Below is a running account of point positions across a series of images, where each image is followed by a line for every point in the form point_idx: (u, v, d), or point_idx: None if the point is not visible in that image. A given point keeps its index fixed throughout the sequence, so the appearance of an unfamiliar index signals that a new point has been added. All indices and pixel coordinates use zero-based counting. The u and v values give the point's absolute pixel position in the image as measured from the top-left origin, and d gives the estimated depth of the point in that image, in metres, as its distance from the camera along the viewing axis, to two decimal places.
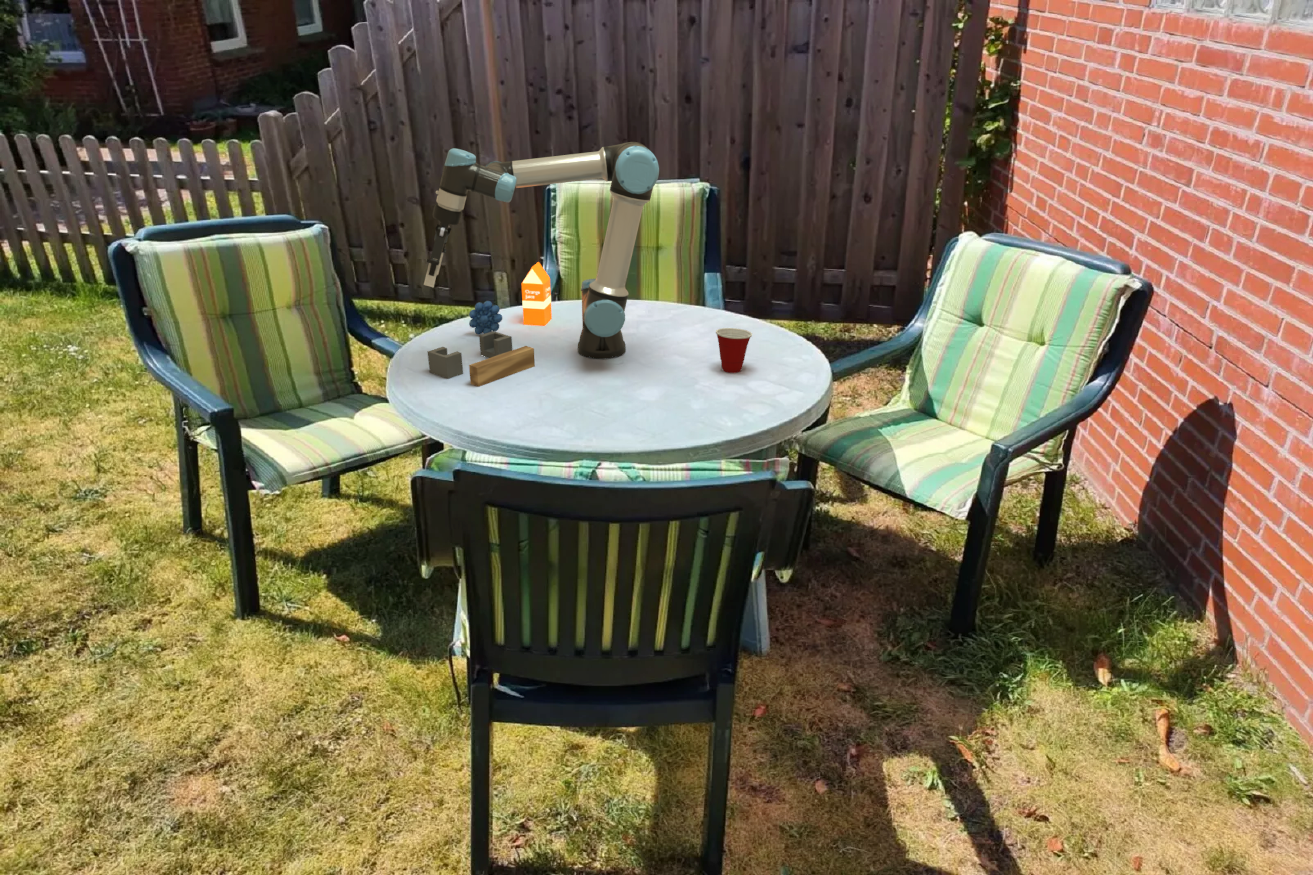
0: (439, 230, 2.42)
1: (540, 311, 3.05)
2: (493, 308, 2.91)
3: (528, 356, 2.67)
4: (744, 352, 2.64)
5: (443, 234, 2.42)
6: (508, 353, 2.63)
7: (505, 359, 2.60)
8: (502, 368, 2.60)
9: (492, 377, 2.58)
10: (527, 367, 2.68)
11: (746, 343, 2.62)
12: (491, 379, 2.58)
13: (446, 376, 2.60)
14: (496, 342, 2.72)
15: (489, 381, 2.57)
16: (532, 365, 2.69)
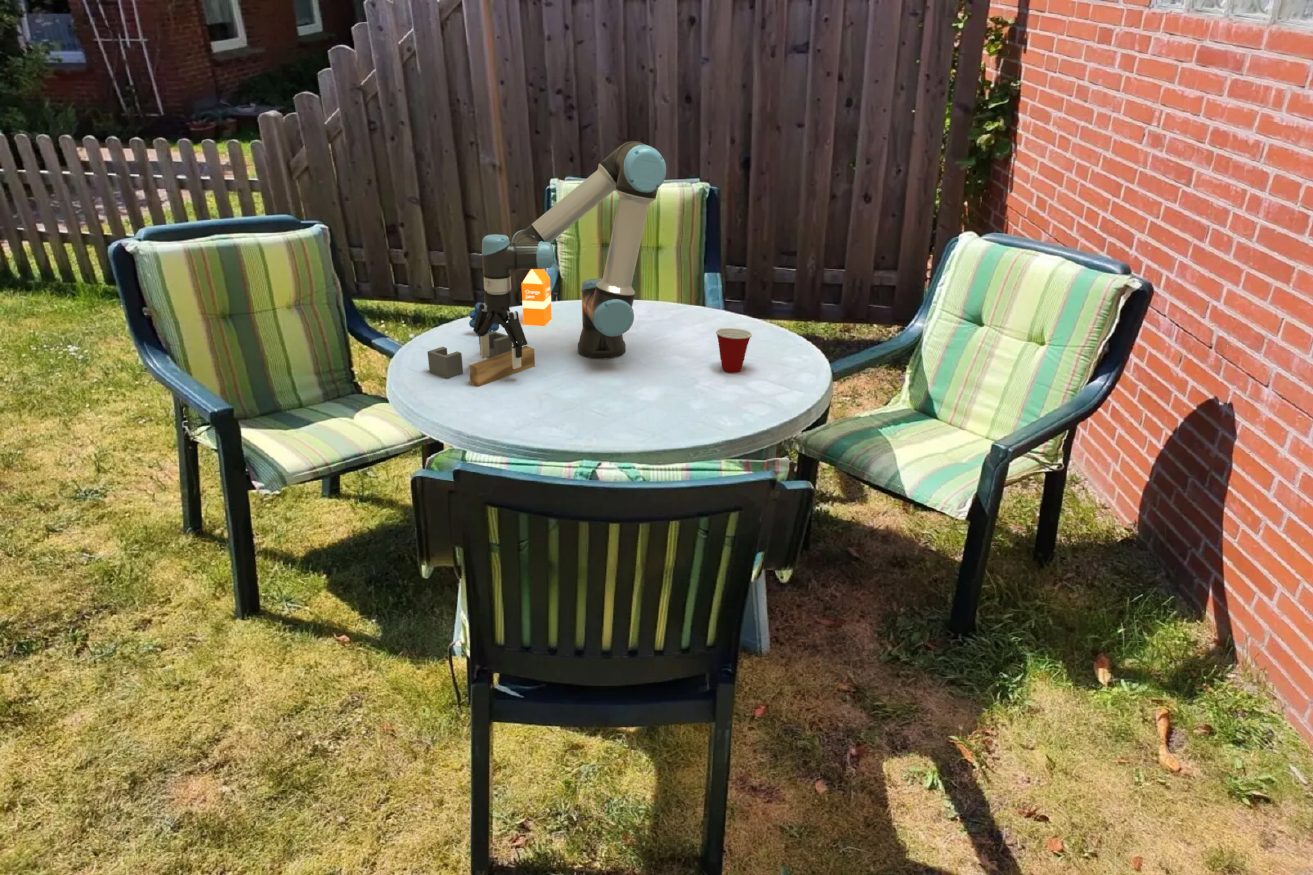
0: (513, 315, 2.51)
1: (540, 311, 3.05)
2: None
3: (528, 356, 2.67)
4: (744, 352, 2.64)
5: (516, 316, 2.52)
6: (508, 353, 2.63)
7: (505, 359, 2.60)
8: (502, 368, 2.60)
9: (492, 377, 2.58)
10: (527, 367, 2.68)
11: (746, 343, 2.62)
12: (491, 379, 2.58)
13: (446, 376, 2.60)
14: (496, 342, 2.72)
15: (489, 381, 2.57)
16: (532, 365, 2.69)
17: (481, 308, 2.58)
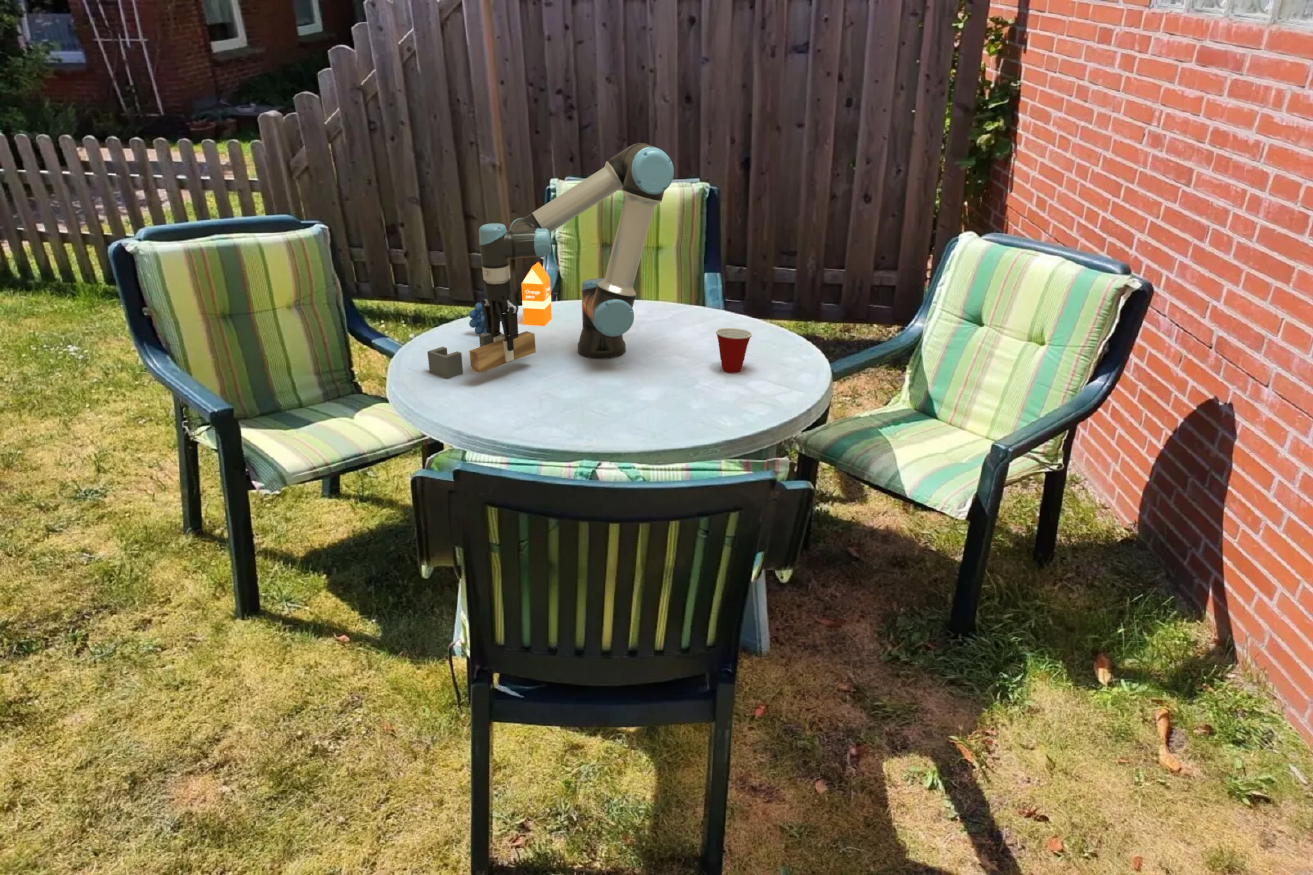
0: (513, 310, 2.51)
1: (540, 311, 3.05)
2: None
3: (529, 341, 2.65)
4: (744, 352, 2.64)
5: (515, 311, 2.52)
6: None
7: None
8: (503, 353, 2.58)
9: (493, 363, 2.56)
10: (528, 352, 2.66)
11: (746, 343, 2.62)
12: (492, 365, 2.56)
13: (446, 376, 2.60)
14: None
15: (490, 367, 2.56)
16: (533, 350, 2.67)
17: (483, 303, 2.57)
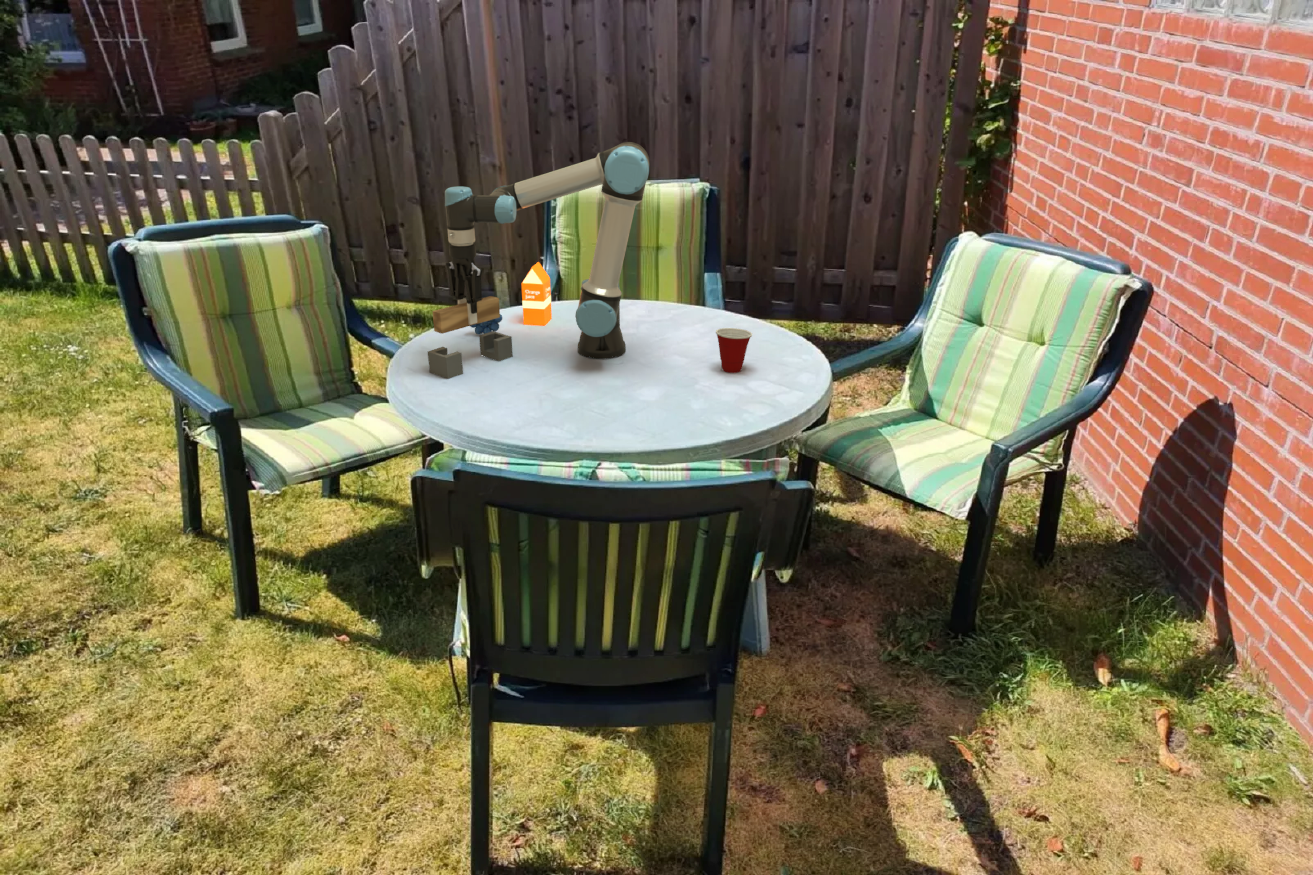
0: (476, 272, 2.55)
1: (540, 311, 3.05)
2: None
3: (493, 305, 2.70)
4: (744, 352, 2.64)
5: (479, 274, 2.56)
6: None
7: None
8: (466, 315, 2.62)
9: (456, 324, 2.60)
10: (492, 317, 2.70)
11: (746, 343, 2.62)
12: (455, 326, 2.60)
13: (446, 376, 2.60)
14: (496, 342, 2.72)
15: (453, 328, 2.60)
16: (497, 315, 2.72)
17: (448, 266, 2.61)
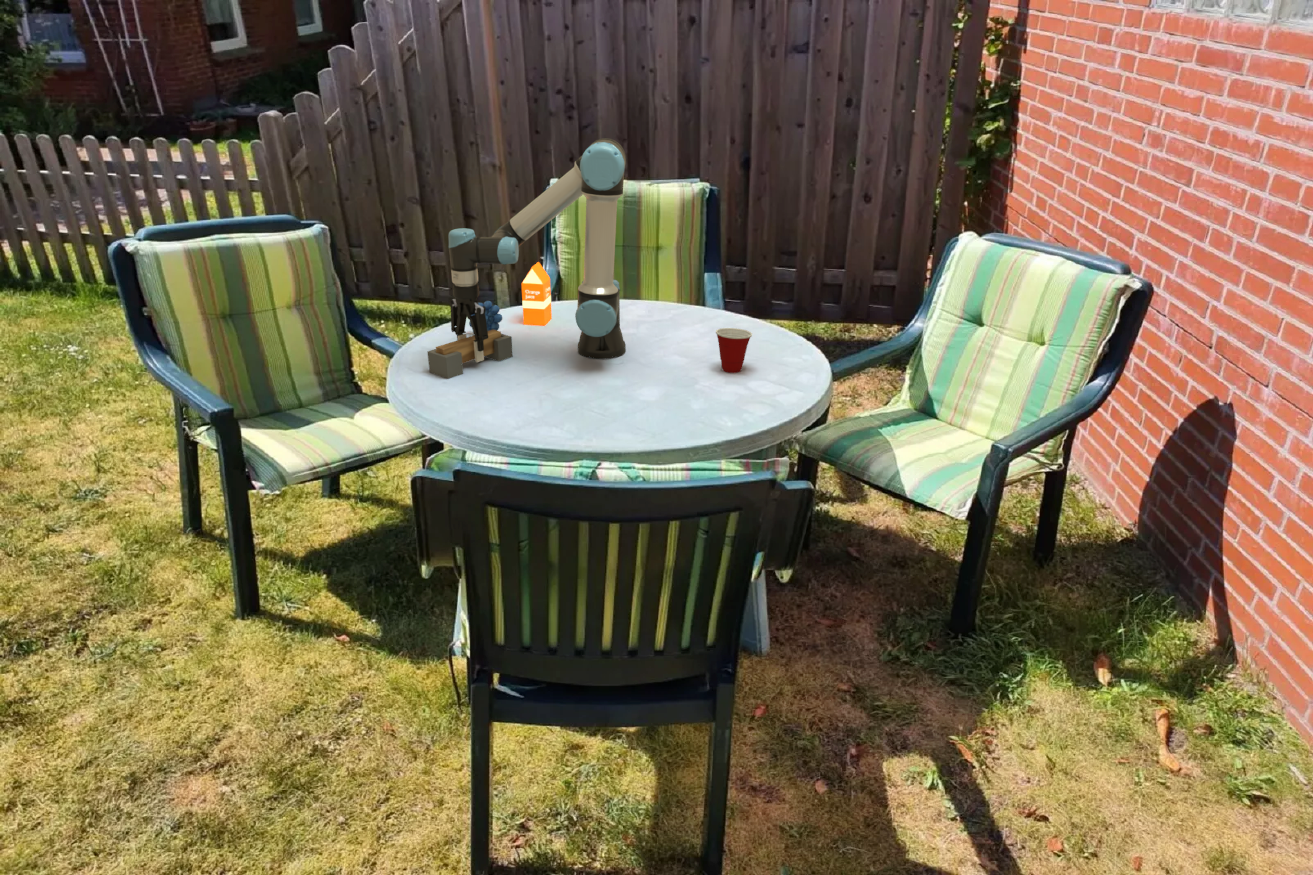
0: (480, 310, 2.60)
1: (540, 311, 3.05)
2: (493, 308, 2.91)
3: None
4: (744, 352, 2.64)
5: (483, 312, 2.61)
6: None
7: (471, 341, 2.67)
8: (468, 350, 2.67)
9: None
10: None
11: (746, 343, 2.62)
12: None
13: (446, 376, 2.60)
14: (496, 342, 2.72)
15: None
16: None
17: (451, 304, 2.66)
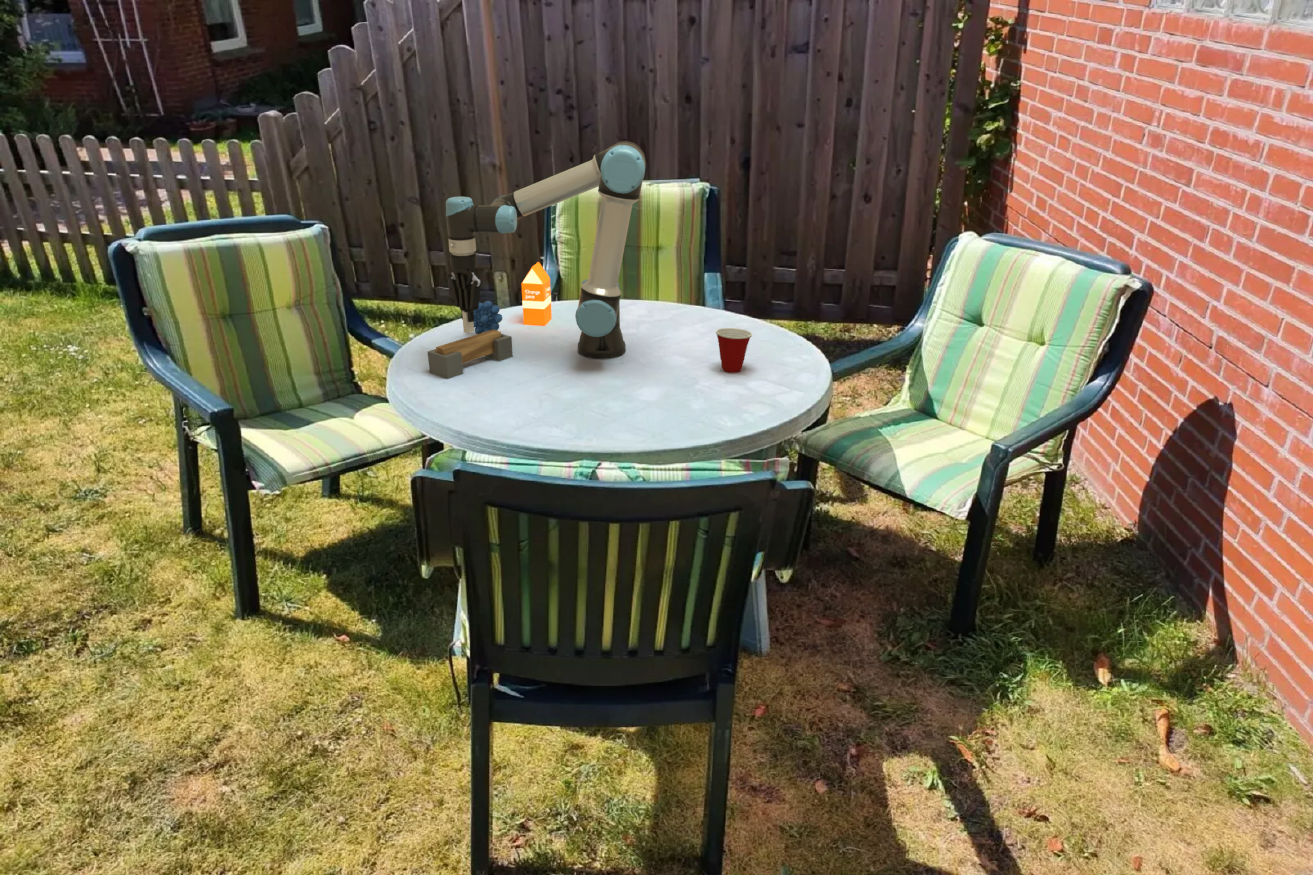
0: (476, 284, 2.57)
1: (540, 311, 3.05)
2: (493, 308, 2.91)
3: None
4: (744, 352, 2.64)
5: (479, 285, 2.58)
6: (475, 336, 2.70)
7: (471, 341, 2.67)
8: (468, 350, 2.67)
9: None
10: None
11: (746, 343, 2.62)
12: None
13: (446, 376, 2.60)
14: (496, 342, 2.72)
15: None
16: None
17: (450, 277, 2.63)
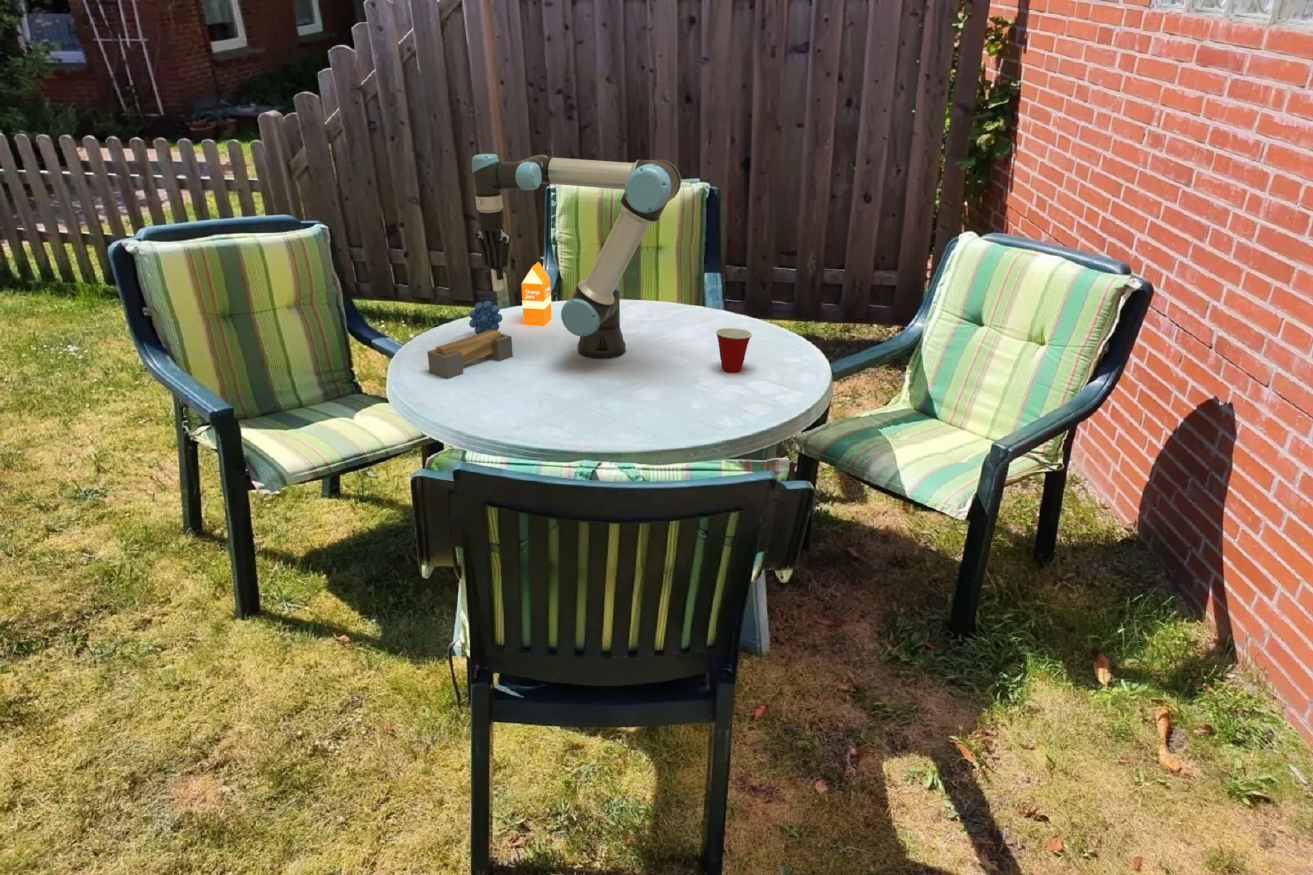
0: (506, 240, 2.59)
1: (540, 311, 3.05)
2: (493, 308, 2.91)
3: None
4: (744, 352, 2.64)
5: (508, 241, 2.60)
6: (475, 336, 2.70)
7: (471, 341, 2.67)
8: (468, 350, 2.67)
9: None
10: None
11: (746, 343, 2.62)
12: None
13: (446, 376, 2.60)
14: (496, 342, 2.72)
15: None
16: None
17: (477, 236, 2.65)
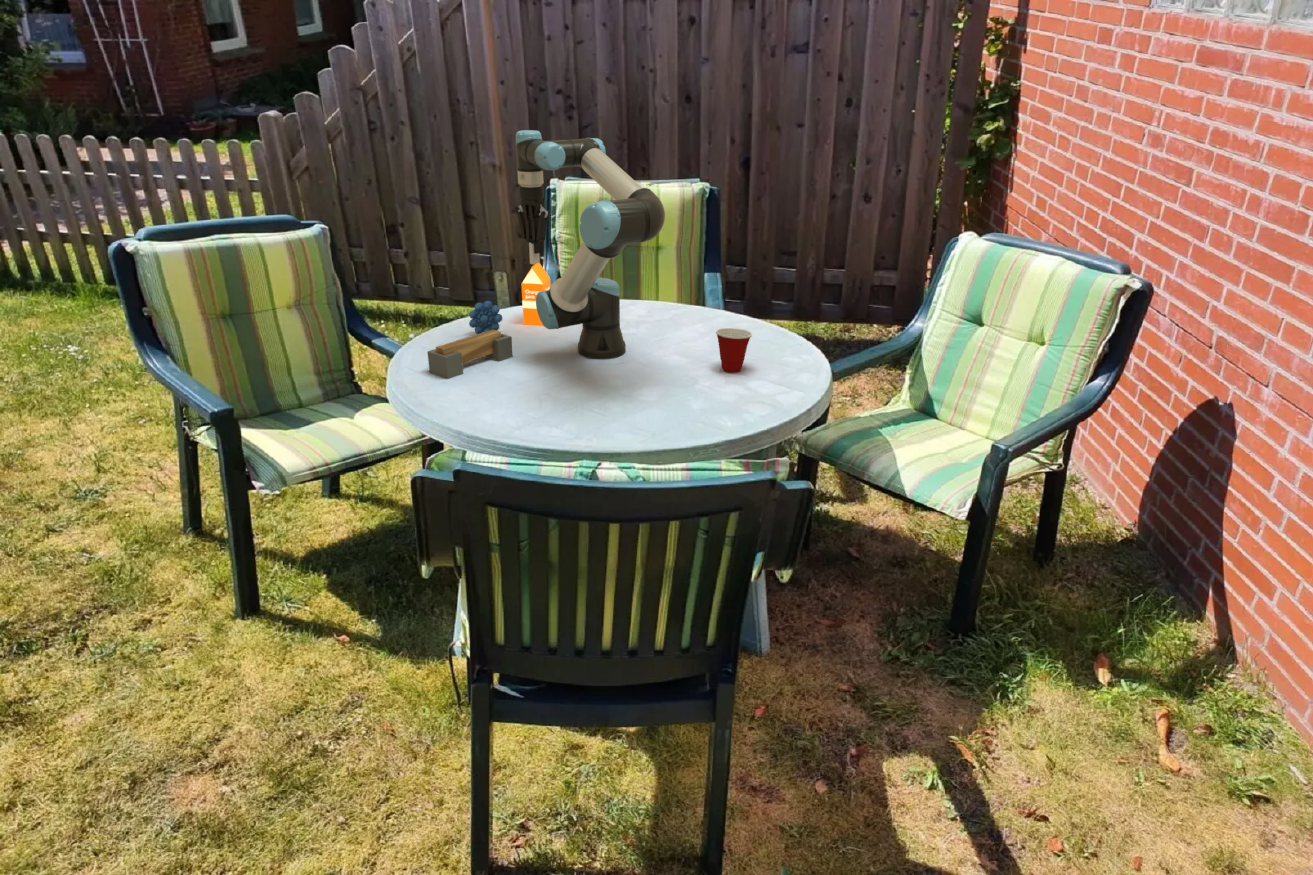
0: (544, 215, 2.67)
1: None
2: (493, 308, 2.91)
3: None
4: (744, 352, 2.64)
5: (546, 216, 2.69)
6: (475, 336, 2.70)
7: (471, 341, 2.67)
8: (468, 350, 2.67)
9: None
10: None
11: (746, 343, 2.62)
12: None
13: (446, 376, 2.60)
14: (496, 342, 2.72)
15: None
16: None
17: (517, 210, 2.73)
